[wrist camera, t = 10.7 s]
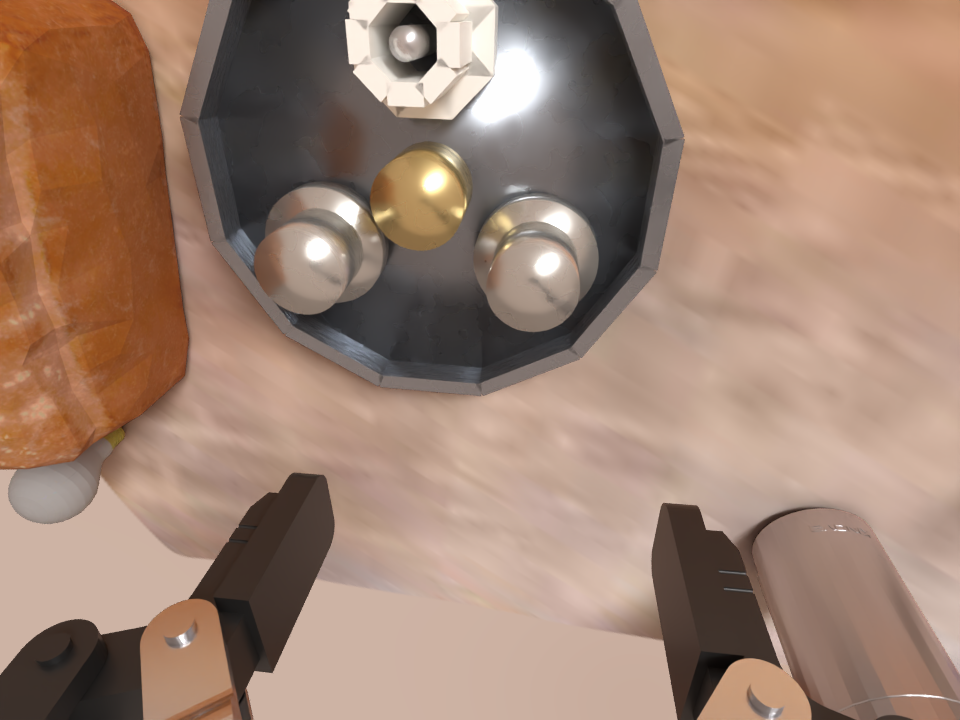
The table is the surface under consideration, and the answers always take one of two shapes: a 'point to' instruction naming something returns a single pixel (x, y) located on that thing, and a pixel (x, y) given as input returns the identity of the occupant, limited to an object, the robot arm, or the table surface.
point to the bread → (81, 232)
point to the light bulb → (61, 484)
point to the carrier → (435, 187)
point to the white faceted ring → (460, 54)
